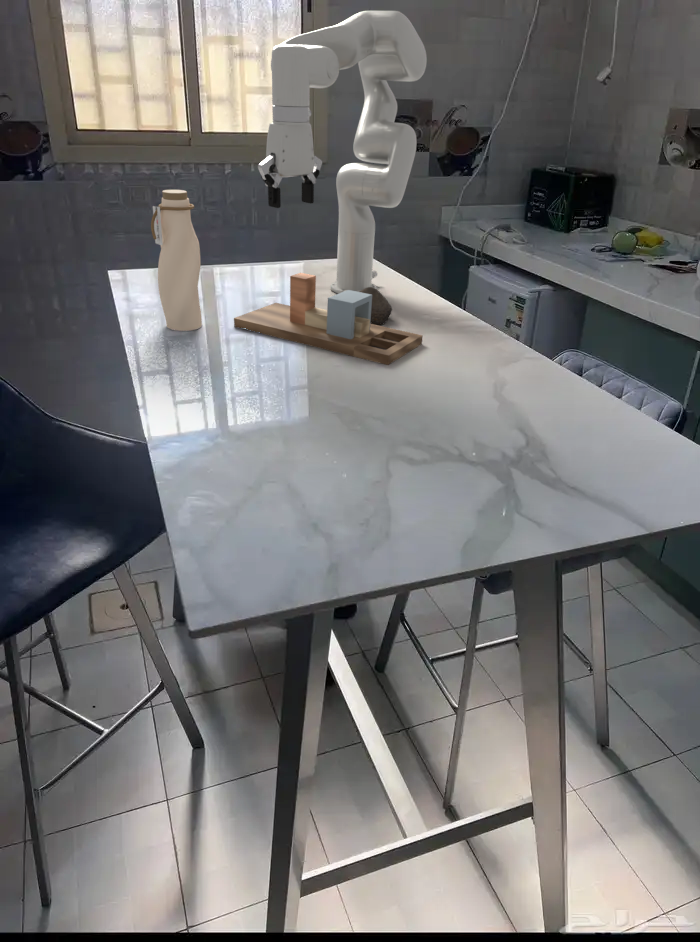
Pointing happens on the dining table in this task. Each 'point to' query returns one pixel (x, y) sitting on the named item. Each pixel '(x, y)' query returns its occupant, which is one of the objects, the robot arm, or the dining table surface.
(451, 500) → the dining table surface
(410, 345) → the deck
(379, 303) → the stone
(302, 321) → the l-shaped wooden block
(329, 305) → the tunnel
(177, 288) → the water bottle
